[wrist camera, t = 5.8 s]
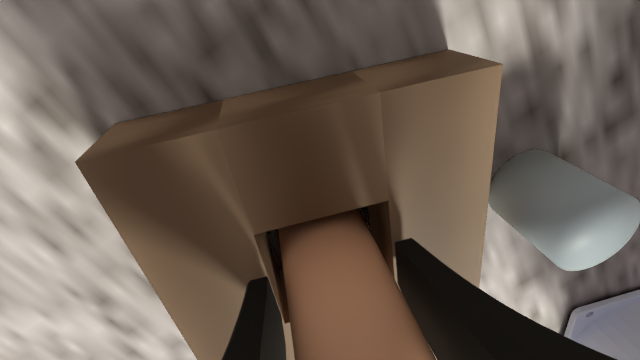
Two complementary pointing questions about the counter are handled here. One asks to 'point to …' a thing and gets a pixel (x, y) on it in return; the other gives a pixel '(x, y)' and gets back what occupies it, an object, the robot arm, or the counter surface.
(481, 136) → the socket block
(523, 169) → the short peg
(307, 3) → the counter surface
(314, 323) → the long peg
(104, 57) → the counter surface
